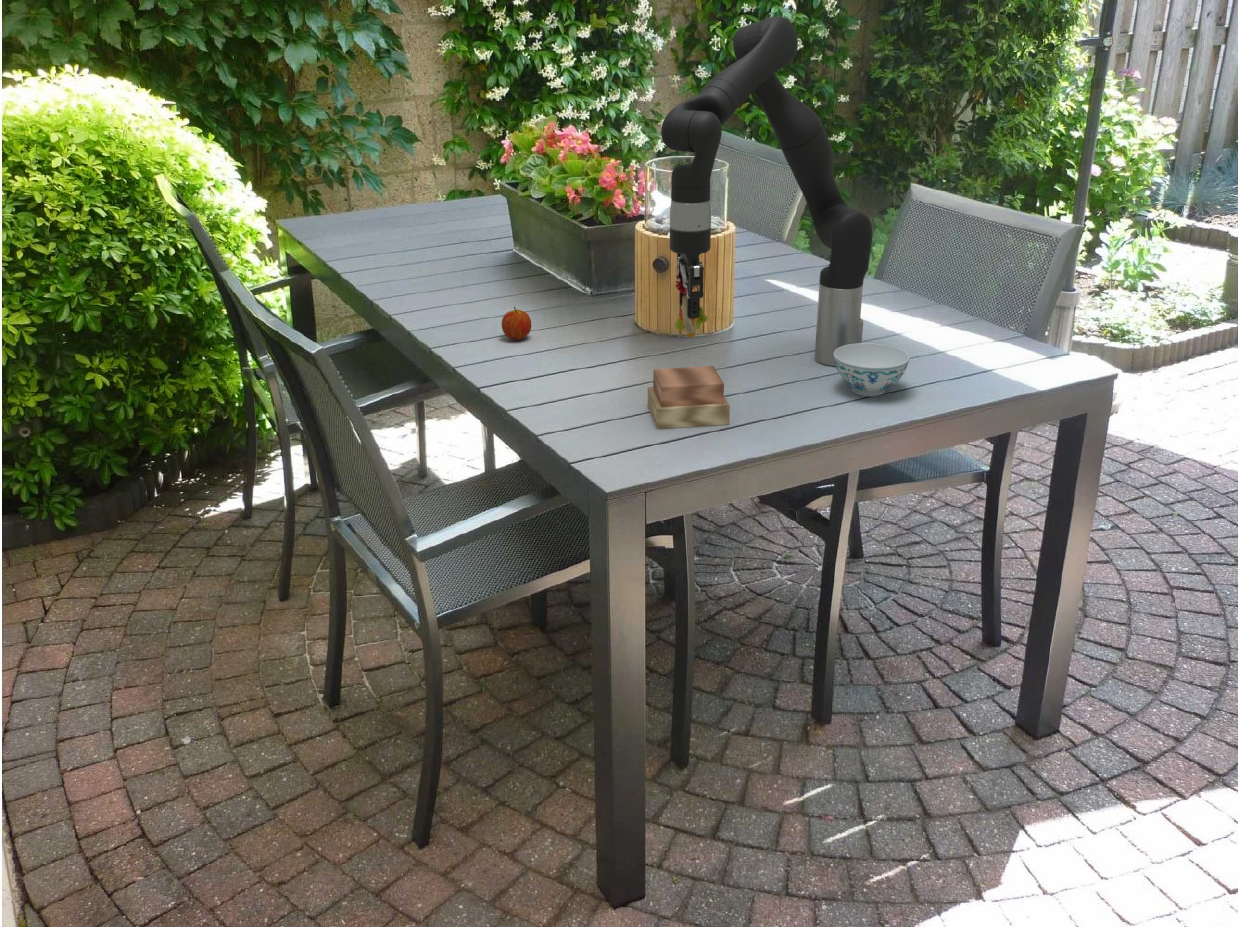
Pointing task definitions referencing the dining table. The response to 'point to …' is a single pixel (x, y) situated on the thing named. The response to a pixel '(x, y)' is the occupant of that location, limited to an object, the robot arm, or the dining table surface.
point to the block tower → (688, 398)
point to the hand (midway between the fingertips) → (689, 311)
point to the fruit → (516, 324)
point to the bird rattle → (683, 319)
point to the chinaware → (870, 366)
